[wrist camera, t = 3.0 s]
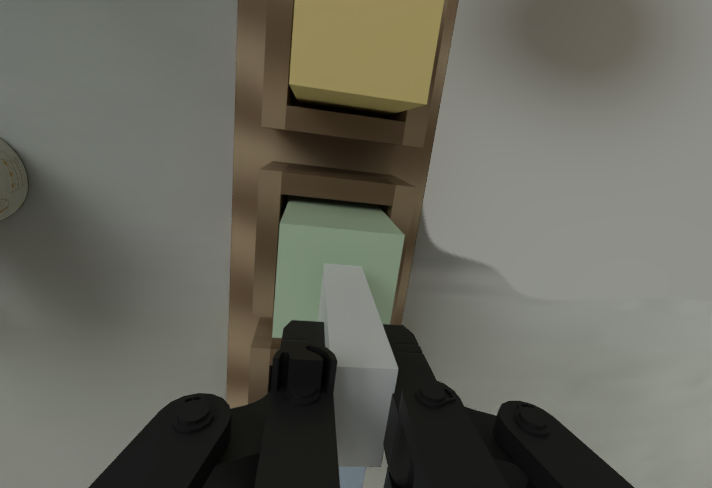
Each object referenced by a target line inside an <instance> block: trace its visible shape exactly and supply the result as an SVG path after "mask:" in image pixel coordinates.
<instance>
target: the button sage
mask: <svg viewBox="0 0 712 488" xmlns="http://www.w3.org/2000/svg"><path fill="white" fill-rule="evenodd" d="M404 237H405V235H404V234H403V233H402V232H401V230H400V229H399V228H398V227H397V226H396V225H395V224H394V223H393V222H392V221H391V219H390V218H389V217H388V216H387V215H386V214H385V213H384V212H383V211H382V210H381V208H380V207H379V206H378V205H377V204H370V203H361V202H351V201H342V200H332V199H323V198H313V197H304V196H294V195H291V196H290V199H289V201H288V204H287V206H286V209H285V211H284V214H283V216H282V219H281V221H280V227H279V242H278V257H277V271H276V286H275V301H274V316H273V331H272V338H282V334H283V328H284V327H285V326H286V325H287V324H288V323H289V322H290V321H291V320H300V321H317V322H318V313H319V304H320V294H321V285H322V275H323V266H324V263H327V264H340V265H352V266H362V269H363V271H364V274H365V277H366V280H367V283H368V285H369V288H370V291H371V294H372V297H373V299H374V302H375V305H376V308H377V310H378V313H379V316H380V319H381V322H382V324H389V325H390V320H391V315H392V309H393V303H394V297H395V291H396V285H397V279H398V273H399V267H400V261H401V255H402V249H403V243H404Z"/></svg>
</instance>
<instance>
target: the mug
mask: <svg viewBox="0 0 712 488" xmlns="http://www.w3.org/2000/svg"><path fill="white" fill-rule="evenodd" d="M27 191H28V179H27V174H26V171H25V168H24V166H23V164H22V162H21V160H20V158H19V157H18V155H17V154H16V153H15V152H14V150H13V149H12V148H11V147H10V146H9V145H8V144H7V143H6V142H4V141H3V140H2V139H0V221H1V220H3V219H5V218H7V217H9V216H10V215H12V214H13V213H15V212H16V211H17V210H18V209H19V208H20V207H21V206H22V204H23V202H24V200H25V198H26V195H27Z"/></svg>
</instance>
